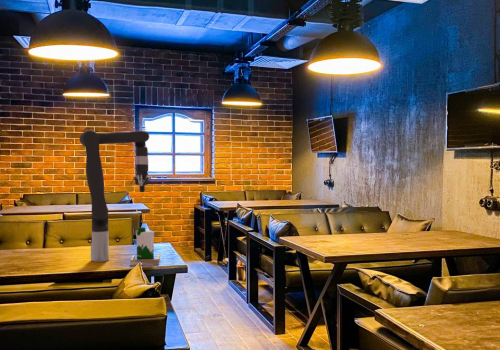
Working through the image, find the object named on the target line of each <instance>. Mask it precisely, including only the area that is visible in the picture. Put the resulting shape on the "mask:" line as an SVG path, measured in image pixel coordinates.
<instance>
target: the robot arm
mask: <svg viewBox="0 0 500 350" xmlns="http://www.w3.org/2000/svg"><path fill="white" fill-rule="evenodd" d="M149 139H150V133H148V132H147V131H146V130H135V131H129V130H128V131H127V130H126V131H125V130H124V131H123V130H122V131H112V132H104V133H103V132H102V133H101V132H96V131H94V130H92V129H90V130H89V129H88V130H86V131H83V132H81V134H80V136H79V143H80V144H81V145H82V146H83V147H84V148H85V154H86V161H85V175H86V182H87V186H88V187H87V188H88V191H89V193H90V199H91V200H90V201H91V244H90V261H92V262H95V263H99V262H108V261H109V257H110V256H109V253H110V251H109V243H110V242H109V207H108V205H107V202H106V201H107V200H106V198H105V179H104V170H103V165H102V160H101V156H100V155H101V153H100V152H101V151H100V145H104V144H105V145H106V144H108V145H109V144H131V143H134V145H135V172H136V174H135V176H133V177H132V178H133V180H134V181H135V183H136V185H138V186H139V192H140V193H145V191H146V189H145V188H146V187H145V186H147V185H148V184H149V183H150V181H151V179H152V177H151V176H149V173H148V172H149V149H148V147H147V144H146V142H147V141H149Z"/></svg>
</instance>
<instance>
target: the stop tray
mask: <svg viewBox="0 0 500 350" xmlns="http://www.w3.org/2000/svg"><path fill="white" fill-rule="evenodd" d="M160 261H161V255H160V254H159V253H158V254H157V256H156V258H154V259H142V260H137V259H136V255H135V254H133V255H132V256H131V257H130V259H129V262H130V263H129V265H130V266H132V267H133V266H134V265H137V264H138V263H139V262H141V263H142V265H141V266H159V265H160ZM137 266H138V265H137Z"/></svg>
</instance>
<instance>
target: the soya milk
mask: <svg viewBox="0 0 500 350" xmlns="http://www.w3.org/2000/svg"><path fill="white" fill-rule="evenodd" d="M135 236H136V260H142V259H155V257H154V247H155V245H154V244H155V243H154V241H155V240H154V236H155V230H149V229H146V227H143V226H142V227H138V228H137V230H135Z"/></svg>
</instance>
